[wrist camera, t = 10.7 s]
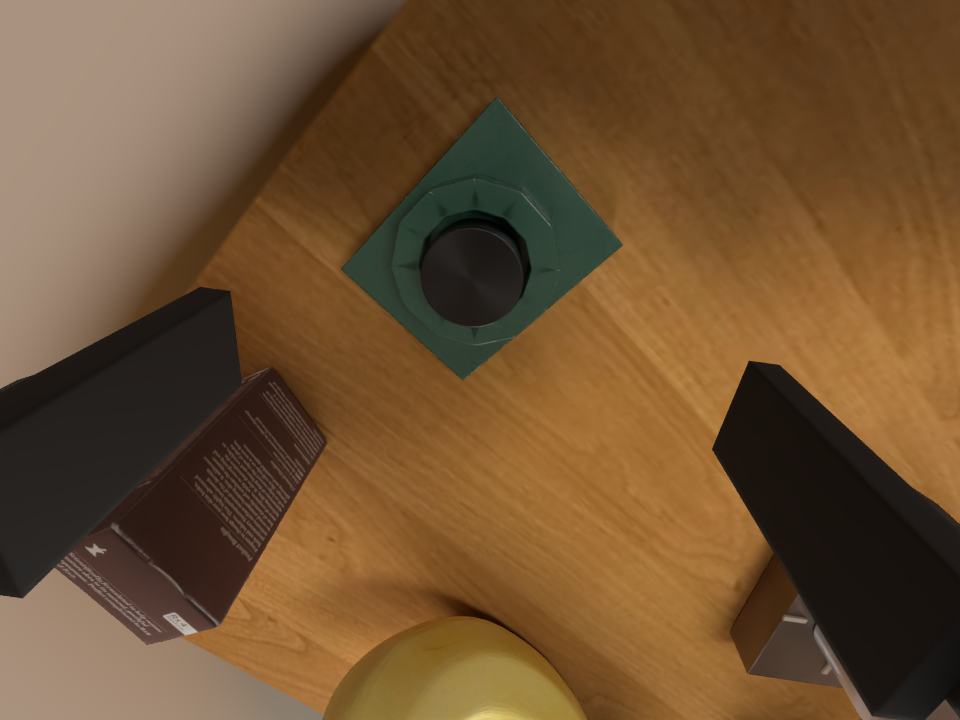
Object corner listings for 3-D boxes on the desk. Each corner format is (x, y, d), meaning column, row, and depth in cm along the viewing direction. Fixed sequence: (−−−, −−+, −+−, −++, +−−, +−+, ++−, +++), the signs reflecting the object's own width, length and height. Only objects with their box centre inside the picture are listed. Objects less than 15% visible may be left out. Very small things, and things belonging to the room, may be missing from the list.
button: (475, 195, 19) (471, 203, 17) (542, 267, 20) (545, 281, 18) (409, 264, 20) (399, 278, 19) (475, 327, 22) (471, 346, 20)
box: (213, 390, 28) (28, 555, 18) (274, 363, 27) (116, 520, 16) (274, 466, 31) (143, 652, 20) (332, 443, 29) (227, 628, 19)
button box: (498, 98, 21) (495, 93, 17) (614, 234, 23) (632, 255, 19) (354, 257, 24) (327, 280, 21) (466, 361, 26) (459, 399, 23)
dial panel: (798, 507, 29) (828, 548, 26) (947, 529, 29) (993, 572, 27) (727, 631, 35) (746, 676, 32) (853, 650, 35) (883, 696, 32)
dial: (799, 647, 30) (892, 817, 23) (835, 594, 28) (950, 763, 21) (878, 658, 30) (996, 831, 23) (919, 606, 28) (1065, 779, 21)
